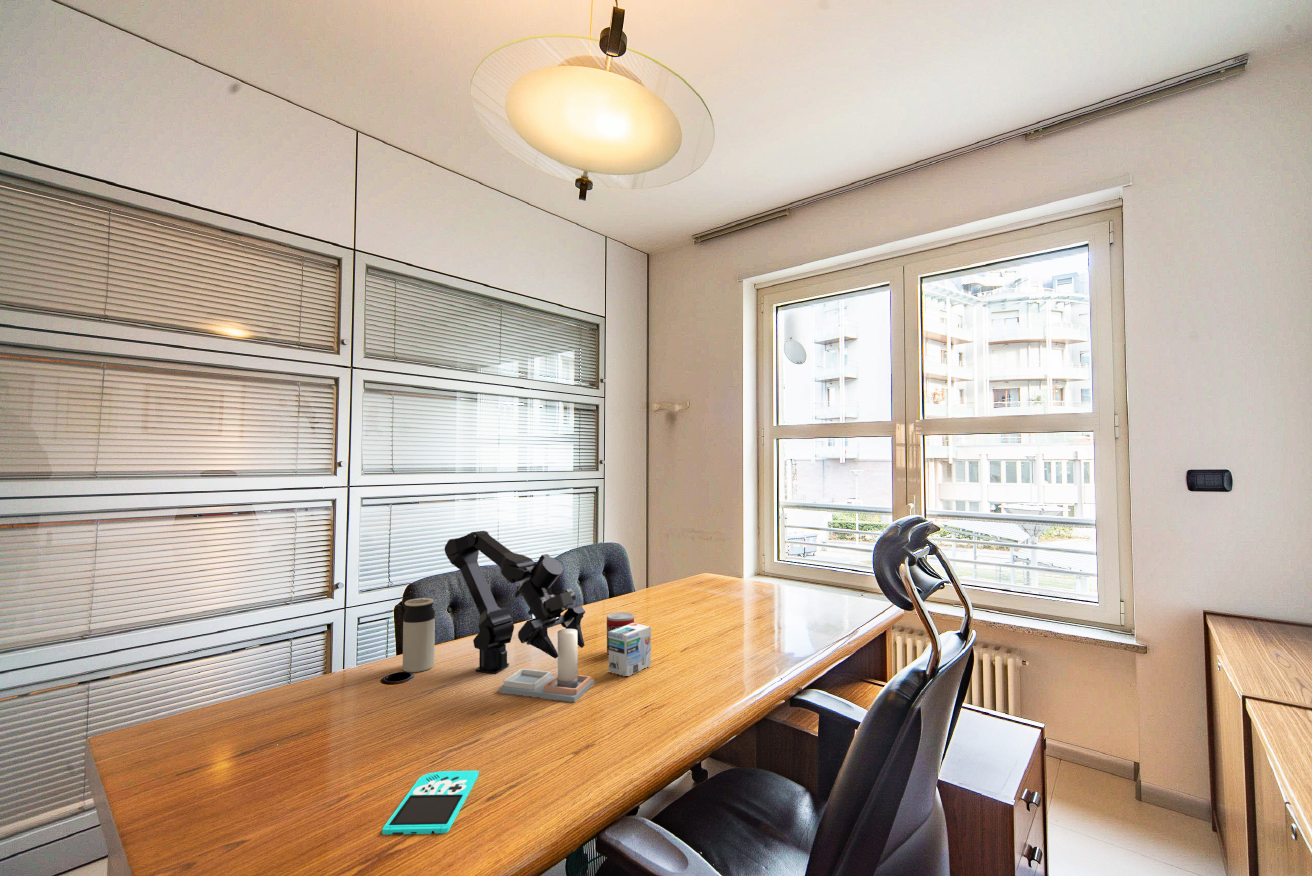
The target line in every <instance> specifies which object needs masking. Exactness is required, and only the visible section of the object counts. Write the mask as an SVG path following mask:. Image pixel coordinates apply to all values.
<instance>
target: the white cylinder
mask: <svg viewBox="0 0 1312 876" xmlns="http://www.w3.org/2000/svg"><path fill="white" fill-rule="evenodd" d="M578 647H579V645H578V631H577V630H576V629H566V628H564V629H560V630H558V631H557V653H558V657H557V675H558V677H557V686H558V687H566V688H576V687H577V686H578V675H579V672H578V670H579V669H578V662H579V661H578V652H579V651H578Z"/></svg>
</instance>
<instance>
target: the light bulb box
mask: <svg viewBox="0 0 1312 876" xmlns="http://www.w3.org/2000/svg"><path fill="white" fill-rule="evenodd" d="M651 633H652V627H651V626H650V625H649V626H648V625H644V624H640V623H635V622H634V623H631V624H629V625H626V626H623V627H620V628H617V629H614V630H612V631H609V655H608V672H609V671H610V672H613V673H612V674H614V673H616V674H615V675H617V674H619V675H618V676H621V675H623V676H622V677H624V676H629V675H631V676H632V674H633V675H635V674H637V673H636V672H638V671H640V670H642V669H644V668H646V667H648V666H650V665H651V666H652V652H651V651H652V642H651V641H652V634H651ZM646 669H647V668H646ZM644 670H645V669H644ZM642 671H643V670H642ZM610 672H609V673H610ZM640 672H641V671H640ZM634 673H635V674H634ZM638 673H639V672H638ZM629 677H630V676H629Z"/></svg>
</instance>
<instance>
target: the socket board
mask: <svg viewBox="0 0 1312 876" xmlns="http://www.w3.org/2000/svg"><path fill="white" fill-rule="evenodd" d="M557 677H558V674H557V675H556V674H552V671H547V670H539V669H529V668H520V669H519V670H517V671H516V672H514V673H512V674H511V675H510V676H508V677H506V678H505V679H503V681H502V682H503V685H501V686H500V687H499V689H498V690H499V691H498V692H499V694H506V695H507V694H508V695H514V694H515V695H514V696H521V695H523V696H522V697H529V696H531V698H537V697H540V698H539V699H545V700H552V699H553V701H561V702H569V703H576V702H577V701H578V700H579V699H580V698H581V697H582V696H583V695H585V693H587V692H588V691H589V690H590V689H591V688H592V687H593V686H594V685H595V679H592V676H590V675H585V674H584V675H582V674H578V686H577V687H576V688H566V687H558V686H557ZM593 684H594V685H593ZM592 685H593V686H592ZM591 686H592V687H591ZM590 687H591V688H590ZM589 688H590V689H589ZM588 689H589V690H588ZM587 690H588V691H587ZM586 691H587V692H586ZM582 694H583V695H582ZM579 697H580V698H579Z"/></svg>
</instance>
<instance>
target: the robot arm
mask: <svg viewBox="0 0 1312 876" xmlns="http://www.w3.org/2000/svg"><path fill="white" fill-rule="evenodd" d="M480 552H481V553H482V554H483V555H484V556H485V557H487V558H488V559H489V560H491V561H492V562H493V563H494V564H496V565H497V566H498V567H499V568H500V574H501V575H502V576H503V577H504V579H505V580H506V581H508V582H509V583H510V584H515V583H519V582H522V583H521V585H517V586H516V590H515V593H514V598H519V597H520V598H521V597H522V598H523V600H524V601H525V603H526V605H527V607H528V608H529V610H528V612H527V613H528V615H529V616H534V618H532V619H528V620H526V622H525V623H524V624H523V625H522V627H521V628H520V629H519V630H518V631H517V638H518V640H519V642H520V643H521V644H526V645H527V646H532V647H534V648H536V649H538V650H539V651H542V652H543V653H545V654H547V655H548V656H550V657H552V658H553V659H558V650H556V647H555V646H554V644H553V642H552V640H551V639H550V636H549V635H548V634H549V633H548V632H549V631H548V629H549V628H553V627H555V626H559V625H561V626H562V627H563V628H564V629H576V630H577V631H578V647H579V648H581V649H582V648H584V647H585V640H584V637H583V633H582V627H581V623H582V619H583V618H584V614H585V613H586V610H585V609H584V608H583V605H581V604H580V605H579V604H577V605H574V601H575V600H576V599H577V597H576V593H575V592H574V591H573V589H572V588H571V587H570V588H566V589H565V590H563V591H562V593H560V594H557V595H555V594H549V593H548V591H547V589H550V588H551V587H552V585H553V584H554V583H555V582H556V581H557V579H558V578H559V577H560V576H561V574H562V573H563V572H564V567H563V565H562V563H561V561H558V560H557V559H556V558H554V557H552V556H550V555H549V553H545V554H541V555H540V557H539V558H538V561H537V562H535V561H534V560H533V558H530V557H528V556H527V555H524V554H520V553H516V552H513V551H512V550H510V549H509V548H507V547H506V546H505V545H503V544H502V543H501V542H499V541H498V540H496V539H495V538H494V537H492V535H490V533H489V532H488V531H487V530H479V531H478V530H477V531H471V532H469V533H468V534H466V535H464V536H460V537H456V538H450V539H449V540H447V542H446V544H445V546H444V553H445V556H446V558H447V559H448V560H449V563H450V564H451V565H453V566H454V567H456V568H457V569H458V570H459V571H460V572H461V575H462V577H463V579H464V582H465V583H466V586H467V588H468V591H469V593H470V595H471V598H472V599H473V602H474V604H475V607H476V608H477V612H478V614H479V619H478V620H479V621H478V629H479V632H478V633H477V634H476V635H475V637H474V639H473V640H472V641H473V646H474V649H477V650H479V651H478V652H479V653H478V654H479V659H478V660H479V661H478V663H479V664H478V665H479V667H477V668H475V672H481V673H490V674H498V673H499V672H500V671H502V670H504V669H506V668H507V667H509V665H510V663H508V650H507V644H510V643H511V641H512V637H513V633H514V629H515V624H514V622H513V621H514V619H513V617H512V616H511V613H510V610H509V609H508V607H503V608H501V607H499V606H498V604H497V602H496V599H495V598H494V597H495V596H494V595H493V593H492V591H491V589H490V587H489V584H488V582H487V580H486V577H485V576H484V573H483V571H482V569H481V567H480V565H479V563H478V559H479V554H480ZM572 605H573V606H572ZM569 606H571V607H569ZM566 607H568V608H567V609H566ZM565 610H566V611H565ZM564 611H565V612H564ZM562 613H563V614H562Z"/></svg>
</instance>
